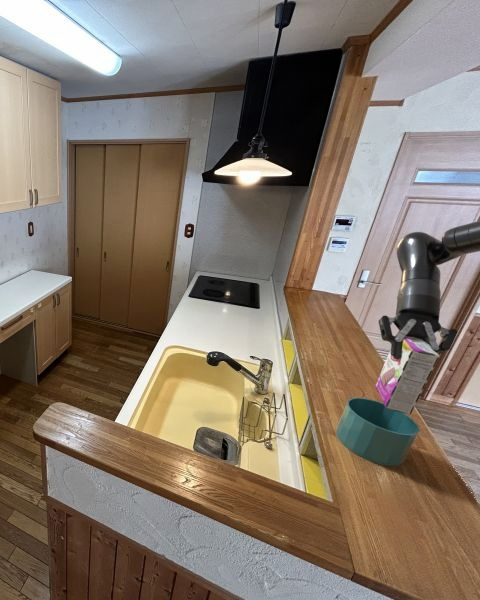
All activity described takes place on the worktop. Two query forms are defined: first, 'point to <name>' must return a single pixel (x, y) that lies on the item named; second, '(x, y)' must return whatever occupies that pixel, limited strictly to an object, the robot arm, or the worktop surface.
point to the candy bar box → (406, 375)
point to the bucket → (376, 431)
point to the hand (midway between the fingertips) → (412, 361)
